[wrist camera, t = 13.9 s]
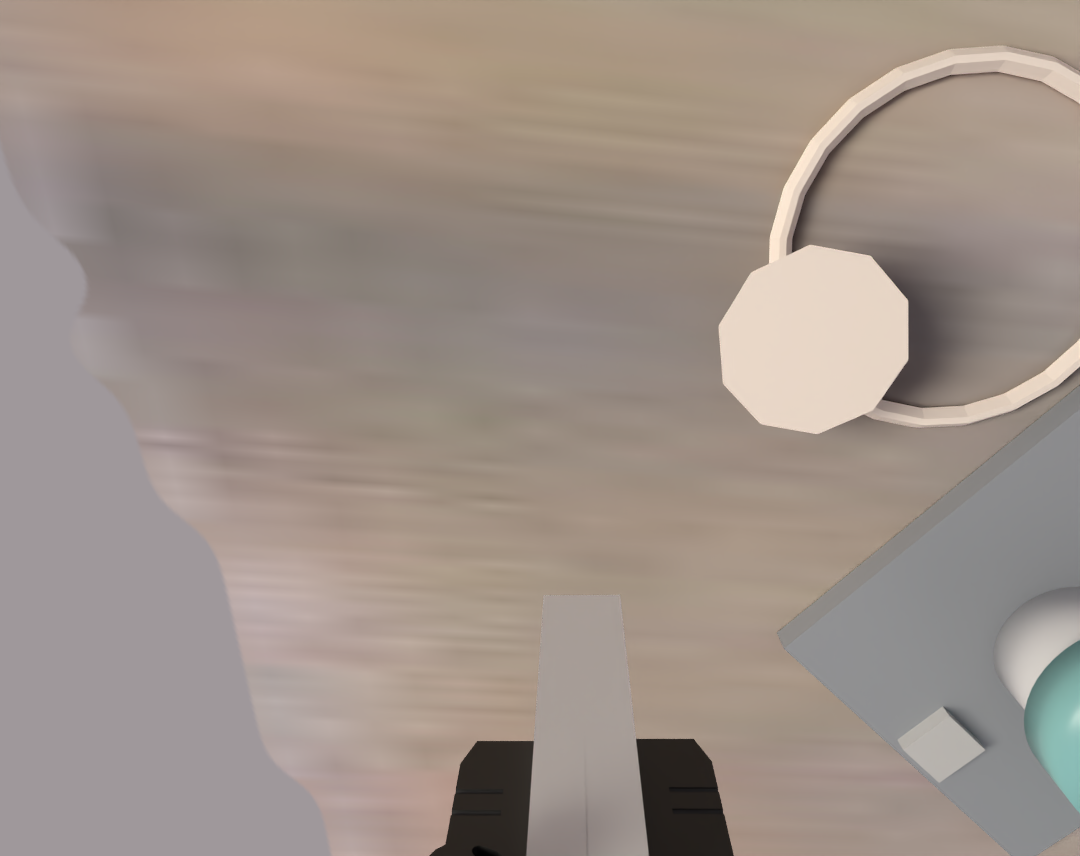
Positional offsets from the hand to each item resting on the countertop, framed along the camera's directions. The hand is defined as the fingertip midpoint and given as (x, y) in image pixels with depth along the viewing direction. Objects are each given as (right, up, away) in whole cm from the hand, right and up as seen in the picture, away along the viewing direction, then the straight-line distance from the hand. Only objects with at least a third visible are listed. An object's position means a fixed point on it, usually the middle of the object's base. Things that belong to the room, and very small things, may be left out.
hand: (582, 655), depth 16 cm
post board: (+27, -7, +27) cm, 39 cm away
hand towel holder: (+16, +12, +22) cm, 30 cm away
